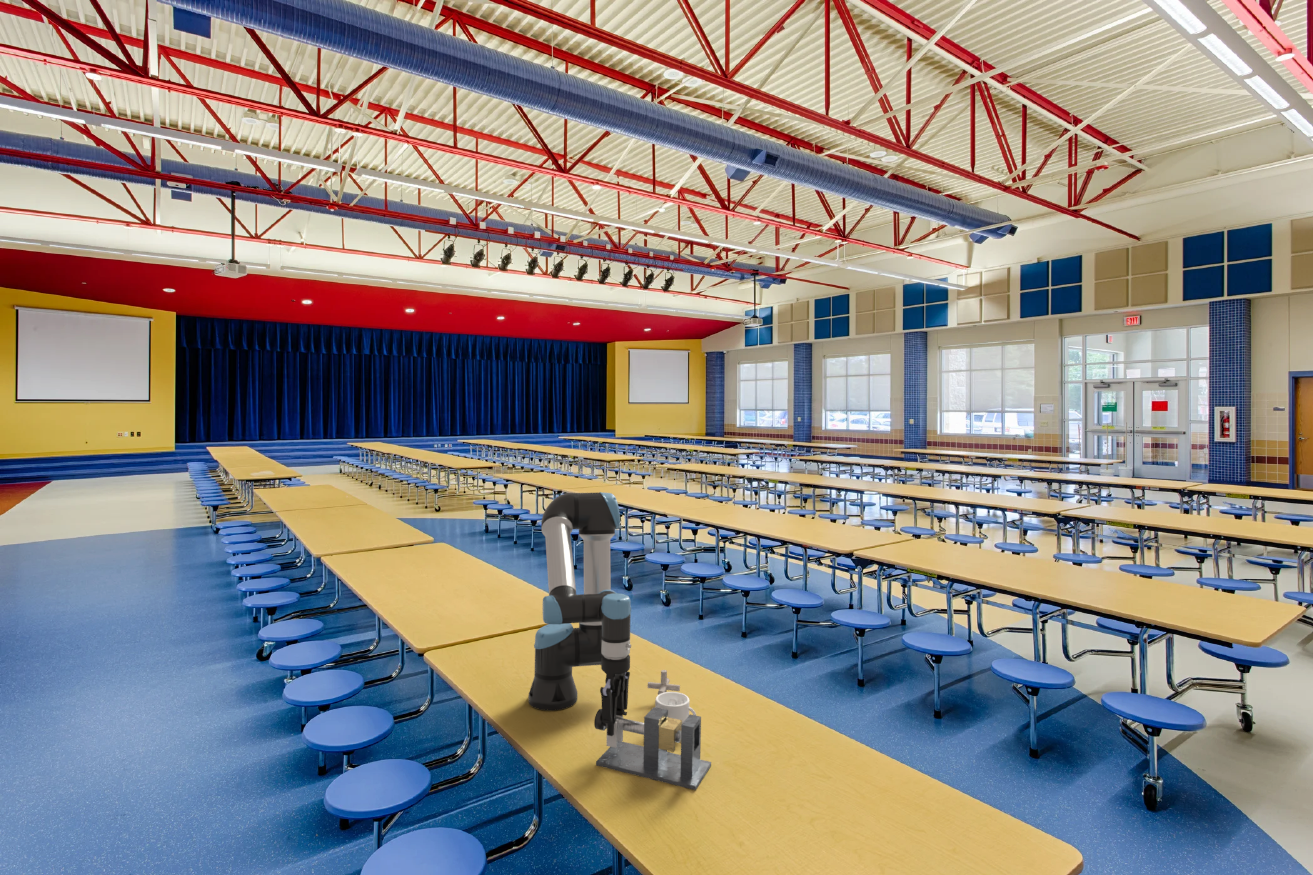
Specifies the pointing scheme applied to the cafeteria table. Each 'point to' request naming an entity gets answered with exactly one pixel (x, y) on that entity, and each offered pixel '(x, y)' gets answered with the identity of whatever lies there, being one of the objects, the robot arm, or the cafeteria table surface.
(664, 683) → the pipe connector
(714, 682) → the cafeteria table surface
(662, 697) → the mug
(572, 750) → the cafeteria table surface
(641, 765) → the bearing block
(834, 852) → the cafeteria table surface
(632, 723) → the shaft
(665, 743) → the spacer
